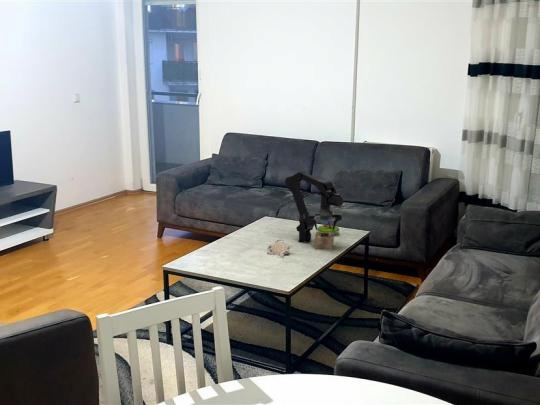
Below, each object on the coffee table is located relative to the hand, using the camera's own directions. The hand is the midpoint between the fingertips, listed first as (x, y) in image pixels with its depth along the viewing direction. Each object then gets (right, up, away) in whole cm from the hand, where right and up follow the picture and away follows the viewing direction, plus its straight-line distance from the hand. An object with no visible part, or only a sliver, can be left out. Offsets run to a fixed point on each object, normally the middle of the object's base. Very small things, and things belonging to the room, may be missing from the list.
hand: (324, 230), depth 343 cm
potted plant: (+5, -3, +26) cm, 27 cm away
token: (0, -9, +2) cm, 9 cm away
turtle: (-26, -12, -9) cm, 30 cm away
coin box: (0, -9, +2) cm, 10 cm away
